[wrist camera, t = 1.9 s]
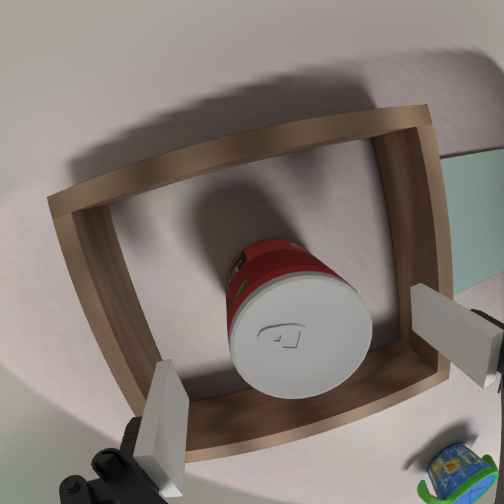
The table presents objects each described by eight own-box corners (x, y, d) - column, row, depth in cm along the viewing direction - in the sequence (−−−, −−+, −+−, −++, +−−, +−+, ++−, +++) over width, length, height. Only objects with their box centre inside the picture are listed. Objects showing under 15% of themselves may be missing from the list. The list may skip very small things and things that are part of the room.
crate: (382, 119, 25) (427, 104, 18) (412, 345, 30) (448, 378, 23) (87, 192, 24) (46, 197, 17) (174, 416, 29) (166, 465, 22)
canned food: (219, 243, 26) (218, 286, 15) (315, 231, 26) (376, 263, 16) (231, 329, 27) (238, 410, 17) (320, 316, 28) (370, 384, 17)
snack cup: (395, 486, 36) (419, 529, 27) (425, 443, 34) (458, 487, 25) (458, 469, 39) (483, 501, 29) (486, 427, 37) (518, 459, 27)
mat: (503, 148, 26) (507, 148, 26) (512, 262, 30) (515, 263, 29) (419, 162, 26) (422, 162, 25) (434, 299, 29) (437, 301, 28)
